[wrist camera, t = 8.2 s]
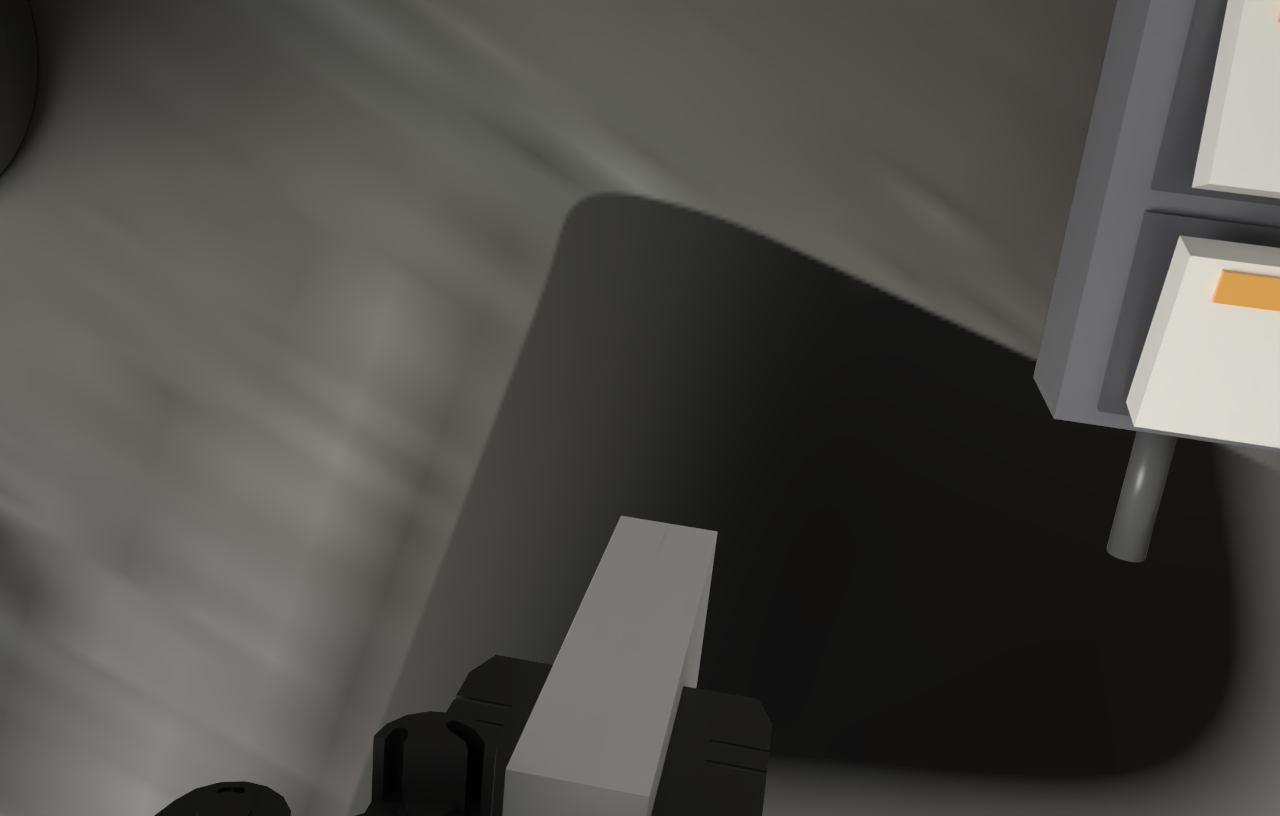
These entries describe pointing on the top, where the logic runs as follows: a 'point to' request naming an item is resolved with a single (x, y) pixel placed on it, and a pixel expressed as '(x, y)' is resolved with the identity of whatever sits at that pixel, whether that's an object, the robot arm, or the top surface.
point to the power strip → (1138, 235)
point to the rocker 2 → (1214, 346)
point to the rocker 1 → (1244, 105)
